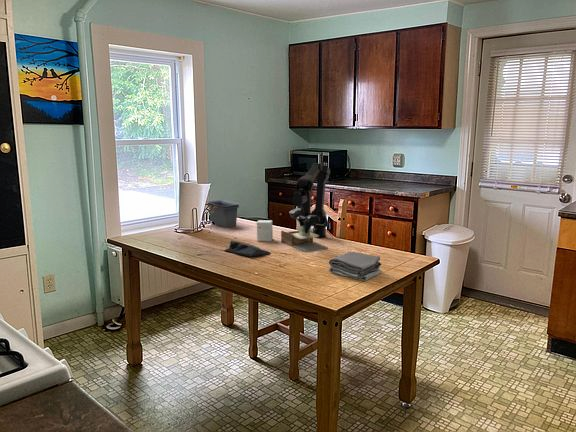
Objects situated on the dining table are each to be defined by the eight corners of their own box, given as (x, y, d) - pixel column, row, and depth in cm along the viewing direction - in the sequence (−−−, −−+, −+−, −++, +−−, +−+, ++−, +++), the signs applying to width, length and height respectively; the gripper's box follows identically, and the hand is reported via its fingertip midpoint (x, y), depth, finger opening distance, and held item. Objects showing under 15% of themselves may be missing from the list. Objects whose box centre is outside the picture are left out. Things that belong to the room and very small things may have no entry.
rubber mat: (314, 243, 245) (314, 242, 244) (327, 248, 234) (327, 247, 234) (292, 246, 238) (292, 245, 237) (304, 252, 227) (304, 251, 227)
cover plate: (308, 232, 246) (308, 223, 245) (319, 236, 238) (319, 226, 237) (290, 235, 240) (290, 225, 240) (300, 239, 232) (300, 228, 231)
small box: (272, 238, 255) (272, 220, 253) (271, 241, 249) (271, 222, 247) (258, 238, 255) (258, 220, 253) (256, 241, 250) (256, 222, 248)
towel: (347, 265, 207) (347, 248, 205) (383, 274, 195) (384, 256, 193) (327, 273, 195) (327, 255, 194) (364, 283, 184) (365, 264, 182)
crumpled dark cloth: (248, 260, 215) (248, 250, 214) (222, 251, 231) (222, 241, 231) (273, 254, 225) (273, 245, 224) (246, 246, 241) (246, 237, 240)
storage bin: (242, 225, 288) (242, 203, 285) (222, 229, 278) (221, 206, 275) (222, 221, 303) (221, 199, 300) (202, 224, 293) (201, 202, 290)
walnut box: (301, 238, 254) (302, 227, 253) (313, 243, 245) (313, 231, 244) (281, 241, 248) (281, 230, 247) (291, 246, 239) (291, 234, 237)
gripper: (282, 201, 240) (282, 230, 243) (301, 206, 224) (301, 238, 227) (300, 200, 245) (300, 228, 248) (320, 205, 229) (319, 235, 232)
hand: (304, 232), depth 239 cm, fingers closed on cover plate, 3 cm apart
